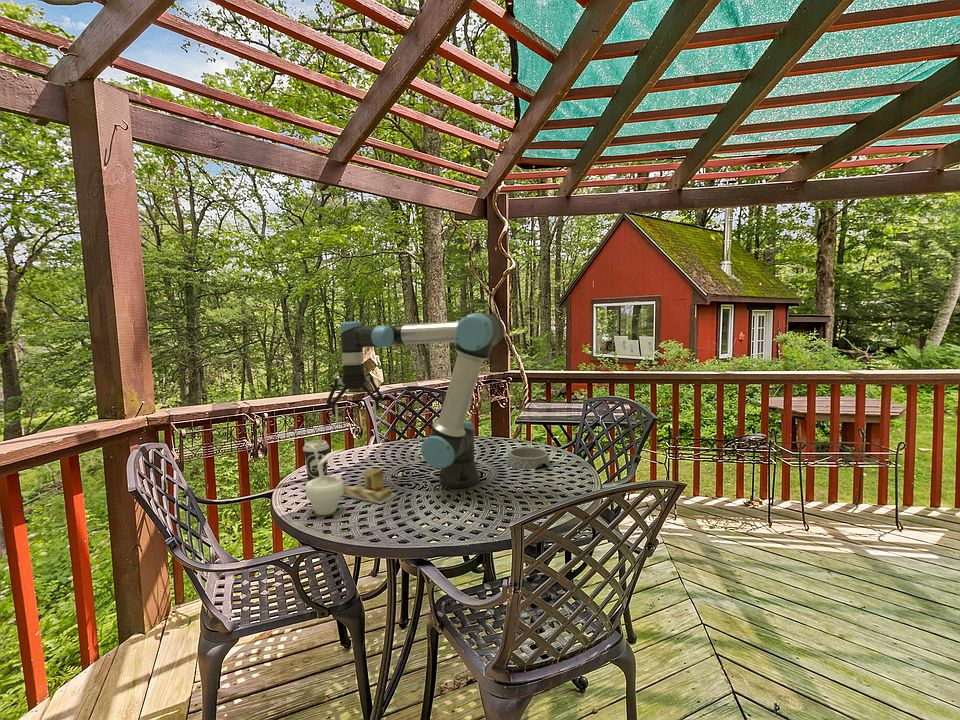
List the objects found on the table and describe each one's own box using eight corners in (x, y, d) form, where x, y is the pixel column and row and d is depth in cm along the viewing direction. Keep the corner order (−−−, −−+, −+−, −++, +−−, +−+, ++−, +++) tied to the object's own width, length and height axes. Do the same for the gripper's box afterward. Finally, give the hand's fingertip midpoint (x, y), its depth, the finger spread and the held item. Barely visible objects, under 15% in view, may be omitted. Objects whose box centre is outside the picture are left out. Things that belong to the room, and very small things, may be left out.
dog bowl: (558, 465, 199) (558, 452, 198) (524, 474, 188) (524, 461, 188) (531, 456, 213) (531, 444, 212) (498, 463, 202) (498, 451, 202)
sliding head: (383, 490, 169) (382, 469, 168) (372, 496, 164) (371, 474, 163) (374, 488, 171) (373, 468, 170) (363, 494, 166) (362, 473, 165)
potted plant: (308, 522, 147) (304, 441, 145) (305, 508, 158) (301, 433, 155) (350, 514, 152) (347, 437, 150) (345, 501, 163) (342, 429, 160)
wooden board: (395, 496, 167) (395, 493, 167) (380, 504, 160) (380, 501, 160) (358, 488, 175) (358, 485, 175) (342, 495, 168) (342, 492, 168)
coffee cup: (336, 479, 186) (334, 441, 184) (318, 487, 177) (316, 447, 176) (317, 476, 190) (315, 438, 188) (298, 483, 181) (296, 444, 180)
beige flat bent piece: (393, 493, 167) (393, 486, 167) (378, 501, 160) (378, 494, 160) (356, 486, 175) (356, 479, 175) (340, 493, 168) (340, 486, 168)
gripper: (386, 361, 183) (389, 416, 184) (317, 365, 176) (321, 422, 178) (388, 362, 175) (391, 420, 177) (316, 366, 169) (320, 426, 170)
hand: (356, 421), depth 177 cm, fingers open, 13 cm apart
